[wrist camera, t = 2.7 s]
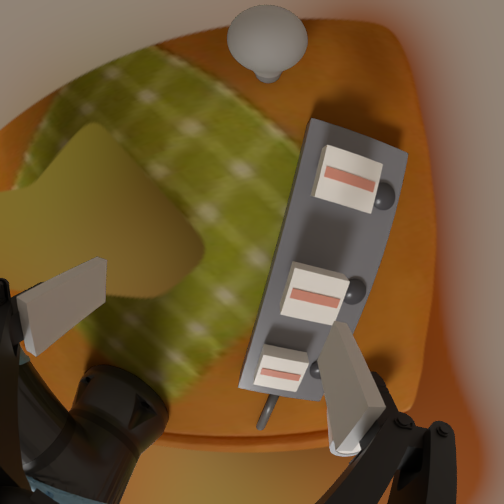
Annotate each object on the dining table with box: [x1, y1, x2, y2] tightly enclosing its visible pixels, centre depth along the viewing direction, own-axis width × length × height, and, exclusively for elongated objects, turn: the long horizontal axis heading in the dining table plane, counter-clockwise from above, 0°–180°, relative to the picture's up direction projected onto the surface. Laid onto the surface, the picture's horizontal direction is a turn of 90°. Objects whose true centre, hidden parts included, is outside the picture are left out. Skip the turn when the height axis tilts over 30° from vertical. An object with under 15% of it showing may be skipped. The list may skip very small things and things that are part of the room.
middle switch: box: [280, 261, 350, 325], centre depth 22 cm, size 5×4×2 cm
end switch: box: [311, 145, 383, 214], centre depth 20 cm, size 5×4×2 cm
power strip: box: [238, 118, 408, 430], centre depth 27 cm, size 10×39×3 cm, turn 166°
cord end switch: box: [253, 344, 309, 392], centre depth 26 cm, size 5×4×2 cm
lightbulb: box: [227, 5, 308, 83], centre depth 18 cm, size 6×6×11 cm
